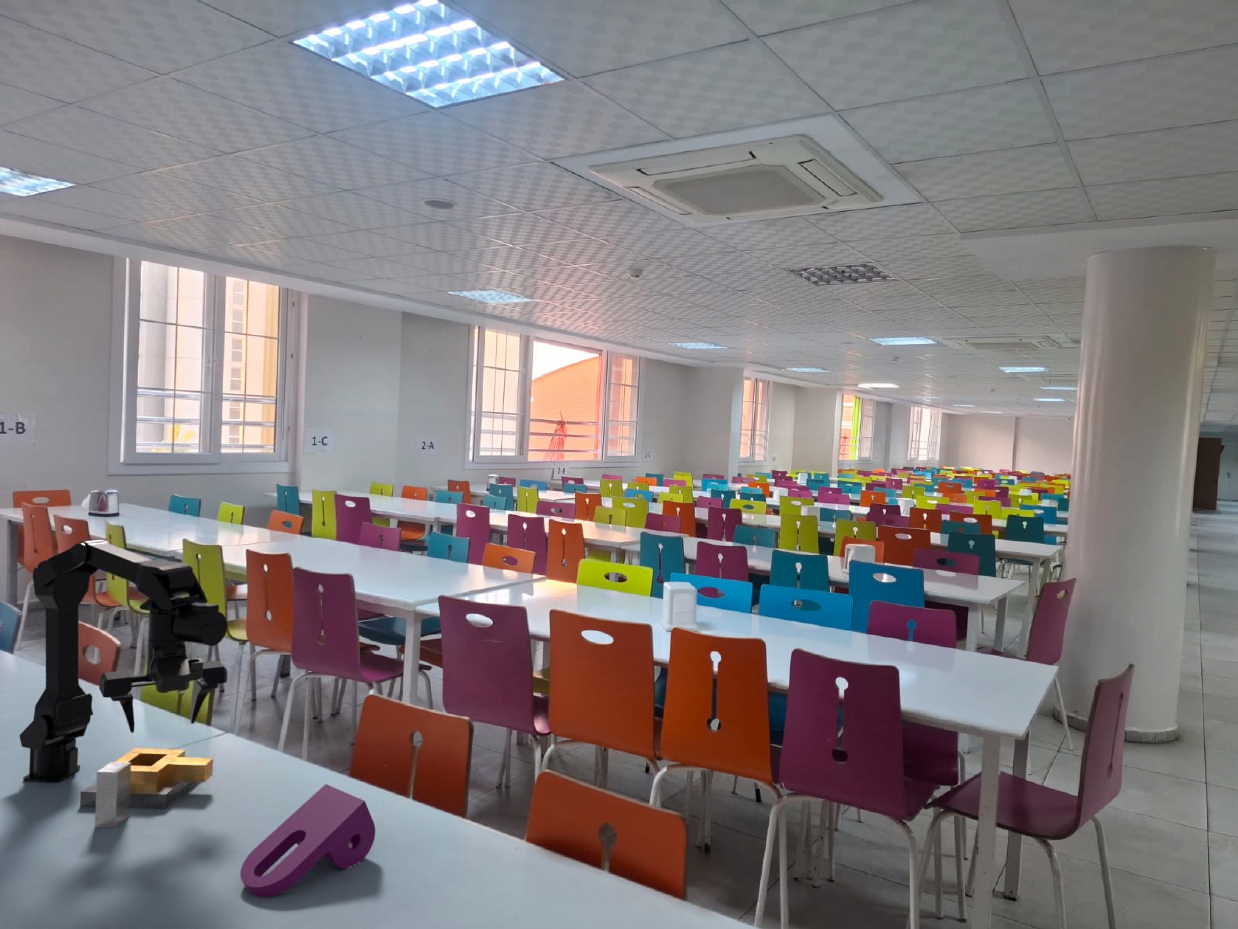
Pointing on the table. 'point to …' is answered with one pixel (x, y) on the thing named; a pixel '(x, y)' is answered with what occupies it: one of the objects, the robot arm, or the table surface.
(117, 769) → the grey rectangular block
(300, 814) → the mounting bracket
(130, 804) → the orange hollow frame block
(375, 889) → the table surface
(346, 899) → the table surface
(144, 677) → the robot arm
